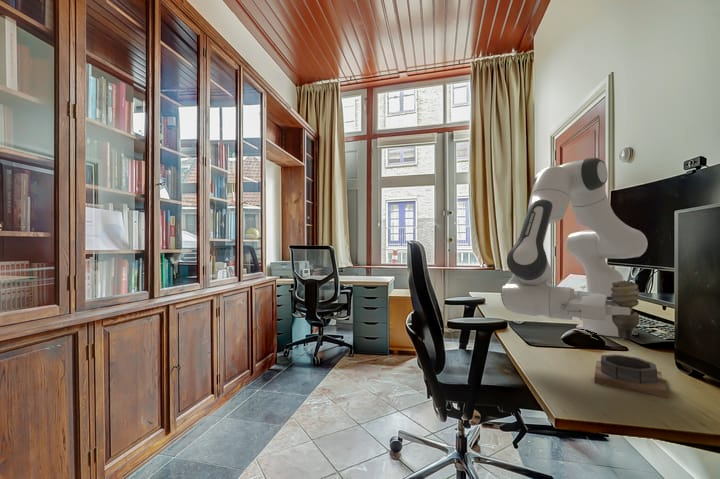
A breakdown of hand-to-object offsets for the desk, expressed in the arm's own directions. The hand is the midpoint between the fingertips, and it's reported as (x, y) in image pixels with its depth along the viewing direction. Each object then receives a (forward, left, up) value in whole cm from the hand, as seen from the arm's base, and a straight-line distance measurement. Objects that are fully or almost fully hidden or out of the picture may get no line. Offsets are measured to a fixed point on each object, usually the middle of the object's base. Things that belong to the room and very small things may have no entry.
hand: (629, 308), depth 79 cm
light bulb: (0, -1, -8) cm, 8 cm away
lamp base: (0, -1, -18) cm, 18 cm away
